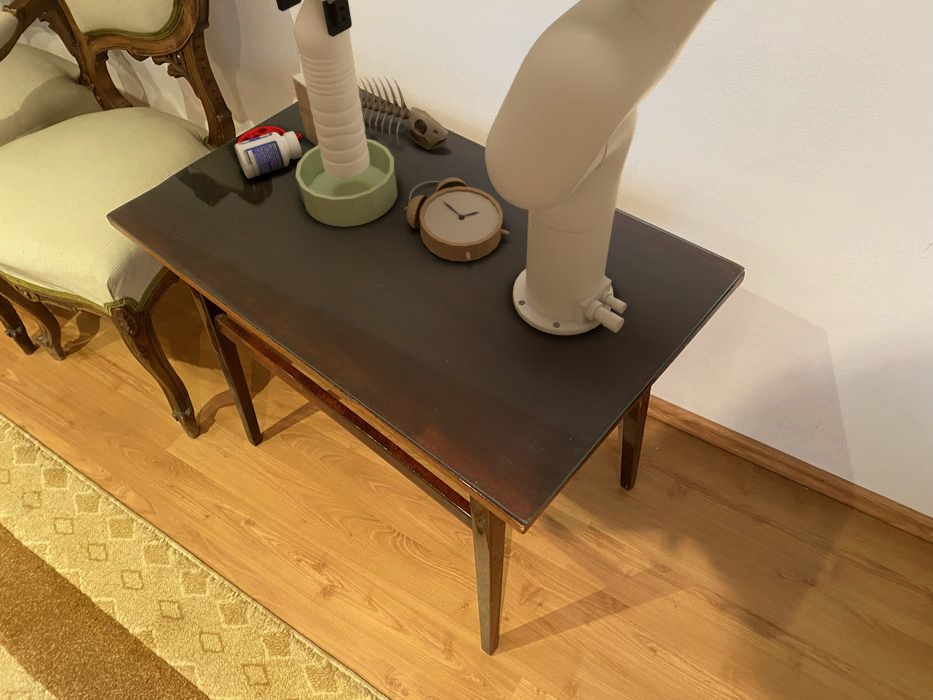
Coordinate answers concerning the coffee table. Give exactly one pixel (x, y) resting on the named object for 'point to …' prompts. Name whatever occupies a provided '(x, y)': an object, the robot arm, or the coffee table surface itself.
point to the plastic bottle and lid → (332, 92)
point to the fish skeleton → (416, 126)
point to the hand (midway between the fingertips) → (314, 18)
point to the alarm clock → (456, 220)
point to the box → (305, 108)
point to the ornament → (257, 133)
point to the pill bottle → (267, 153)
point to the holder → (348, 188)
